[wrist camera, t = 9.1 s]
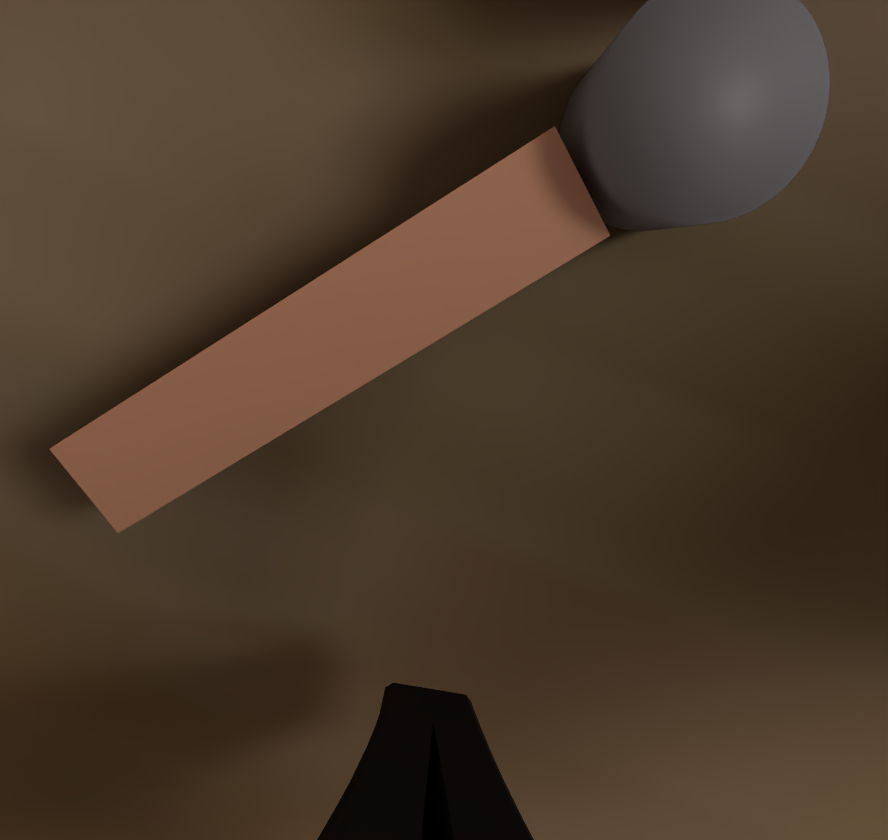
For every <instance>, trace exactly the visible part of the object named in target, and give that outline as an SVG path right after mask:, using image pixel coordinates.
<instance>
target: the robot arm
mask: <svg viewBox="0 0 888 840" xmlns="http://www.w3.org/2000/svg"><path fill="white" fill-rule="evenodd" d="M317 840H534V839H533V837H532V836H531V834H530V832H529V830H528V828H527V826H526V824H525V822H524V820H523V818H522V816H521V814H520V812H519V810H518V808H517V806H516V804H515V802H514V800H513V798H512V796H511V794H510V792H509V790H508V788H507V786H506V784H505V782H504V780H503V778H502V775H501V773H500V771H499V769H498V767H497V764H496V762H495V760H494V758H493V755H492V753H491V751H490V748H489V746H488V744H487V741H486V739H485V737H484V734H483V732H482V729H481V727H480V724H479V722H478V719H477V717H476V714H475V711H474V709H473V706H472V703H471V701H470V700H469V698H468V697H467V695H464V694H458V693H452V692H446V691H440V690H434V689H428V688H422V687H416V686H410V685H404V684H398V683H392V684H391V685H389V686H387V687H385V691H384V696H383V701H382V705H381V710H380V715H379V718H378V720H377V723H376V726H375V728H374V731H373V733H372V736H371V738H370V741H369V743H368V746H367V748H366V750H365V752H364V754H363V756H362V758H361V760H360V762H359V764H358V766H357V768H356V771H355V773H354V775H353V777H352V779H351V781H350V783H349V785H348V787H347V789H346V790H345V792H344V794H343V796H342V798H341V799H340V801H339V803H338V805H337V806H336V808H335V810H334V812H333V813H332V815H331V817H330V819H329V820H328V822H327V824H326V826H325V827H324V829H323V831H322V833H321V834H320V836H319V838H318V839H317Z"/></svg>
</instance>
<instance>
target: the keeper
mask: <svg viewBox="0 0 888 840" xmlns="http://www.w3.org/2000/svg"><path fill="white" fill-rule="evenodd" d="M829 89H830V76H829V64H828V58H827V52H826V48H825V45H824V42H823V39H822V35H821V33H820V31H819V29H818V27H817V25H816V23H815V21H814V19H813V18H812V16H811V15H810V13H809V11H808V10H807V8H806V7H805V6H804V5H803V4H802V3H801V2H800V0H648V1H647V2H646V3H645V4H644V5H643V6H642V7H641V8H640V9H639V10H638V11H637V12H636V13H635V14H634V16H633V17H632V18H631V19H630V21H629V22H628V23H627V24H626V25H625V27H624V28H623V29H622V30H621V32H620V33H619V34H618V35H617V36H616V38H615V39H614V40H613V41H612V43H611V44H610V45H609V46H608V47H607V49H606V50H605V51H604V52H603V54H602V55H601V56H600V57H599V58H598V60H597V61H596V62H595V63H594V65H593V66H592V67H591V68H590V69H589V71H588V72H587V73H586V74H585V76H584V77H583V78H582V79H581V80H580V82H579V83H578V85H577V86H576V88H575V89H574V91H573V93H572V95H571V97H570V99H569V101H568V103H567V105H566V108H565V111H564V114H563V117H562V122H561V127H560V134H559V133H558V131H557V129H556V127H555V126H554V127H553V128H551V129H550V130H548V131H546V132H545V133H543V134H542V135H540V136H539V137H537V138H535V139H534V140H532V141H531V142H529V143H528V144H526V145H524V146H523V147H521V148H520V149H518V150H517V151H515V152H513V153H512V154H510V155H509V156H507V157H506V158H504V159H503V160H501V161H499V162H498V163H496V164H495V165H493V166H492V167H490V168H488V169H487V170H485V171H484V172H482V173H481V174H479V175H477V176H476V177H474V178H473V179H471V180H470V181H468V182H466V183H465V184H463V185H462V186H460V187H459V188H457V189H456V190H454V191H452V192H451V193H449V194H448V195H446V196H445V197H443V198H441V199H440V200H438V201H437V202H435V203H434V204H432V205H430V206H429V207H427V208H426V209H424V210H423V211H421V212H420V213H418V214H416V215H415V216H413V217H412V218H410V219H409V220H407V221H405V222H404V223H402V224H401V225H399V226H398V227H396V228H394V229H393V230H391V231H390V232H388V233H387V234H385V235H383V236H382V237H380V238H379V239H377V240H376V241H374V242H373V243H371V244H369V245H368V246H366V247H365V248H363V249H362V250H360V251H358V252H357V253H355V254H354V255H352V256H351V257H349V258H347V259H346V260H344V261H343V262H341V263H340V264H338V265H336V266H335V267H333V268H332V269H330V270H329V271H327V272H326V273H324V274H322V275H321V276H319V277H318V278H316V279H315V280H313V281H311V282H310V283H308V284H307V285H305V286H304V287H302V288H300V289H299V290H297V291H296V292H294V293H293V294H291V295H290V296H288V297H286V298H285V299H283V300H282V301H280V302H279V303H277V304H275V305H274V306H272V307H271V308H269V309H268V310H266V311H264V312H263V313H261V314H260V315H258V316H257V317H255V318H253V319H252V320H250V321H249V322H247V323H246V324H244V325H243V326H241V327H239V328H238V329H236V330H235V331H233V332H232V333H230V334H228V335H227V336H225V337H224V338H222V339H221V340H219V341H217V342H216V343H214V344H213V345H211V346H210V347H208V348H206V349H205V350H203V351H202V352H200V353H199V354H197V355H196V356H194V357H192V358H191V359H189V360H188V361H186V362H185V363H183V364H181V365H180V366H178V367H177V368H175V369H174V370H172V371H170V372H169V373H167V374H166V375H164V376H163V377H161V378H160V379H158V380H156V381H155V382H153V383H152V384H150V385H149V386H147V387H145V388H144V389H142V390H141V391H139V392H138V393H136V394H134V395H133V396H131V397H130V398H128V399H127V400H125V401H123V402H122V403H120V404H119V405H117V406H116V407H114V408H113V409H111V410H109V411H108V412H106V413H105V414H103V415H102V416H100V417H98V418H97V419H95V420H94V421H92V422H91V423H89V424H87V425H86V426H84V427H83V428H81V429H80V430H78V431H76V432H75V433H73V434H72V435H70V436H69V437H67V438H66V439H64V440H62V441H61V442H59V443H58V444H56V445H55V446H53V447H51V448H50V451H51V452H52V453H53V454H54V455H55V457H56V458H57V459H58V460H59V462H60V463H61V464H62V465H63V466H64V468H65V469H66V470H67V471H68V473H69V474H70V475H71V476H72V478H73V479H74V480H75V481H76V482H77V484H78V485H79V486H80V487H81V489H82V490H83V491H84V492H85V493H86V495H87V496H88V497H89V498H90V500H91V501H92V502H93V503H94V504H95V506H96V507H97V508H98V509H99V511H100V512H101V513H102V514H103V515H104V517H105V518H106V519H107V520H108V522H109V523H110V524H111V525H112V526H113V528H114V529H115V530H116V531H117V533H119V532H121V531H123V530H124V529H126V528H128V527H129V526H131V525H133V524H134V523H136V522H138V521H139V520H141V519H143V518H144V517H146V516H148V515H149V514H151V513H152V512H154V511H156V510H157V509H159V508H161V507H162V506H164V505H166V504H167V503H169V502H171V501H172V500H174V499H176V498H177V497H179V496H181V495H182V494H184V493H186V492H187V491H189V490H191V489H192V488H194V487H195V486H197V485H199V484H200V483H202V482H204V481H205V480H207V479H209V478H210V477H212V476H214V475H215V474H217V473H219V472H220V471H222V470H224V469H225V468H227V467H229V466H230V465H232V464H234V463H235V462H237V461H238V460H240V459H242V458H243V457H245V456H247V455H248V454H250V453H252V452H253V451H255V450H257V449H258V448H260V447H262V446H263V445H265V444H267V443H268V442H270V441H272V440H273V439H275V438H277V437H278V436H280V435H281V434H283V433H285V432H286V431H288V430H290V429H291V428H293V427H295V426H296V425H298V424H300V423H301V422H303V421H305V420H306V419H308V418H310V417H311V416H313V415H315V414H316V413H318V412H320V411H321V410H323V409H325V408H326V407H328V406H329V405H331V404H333V403H334V402H336V401H338V400H339V399H341V398H343V397H344V396H346V395H348V394H349V393H351V392H353V391H354V390H356V389H358V388H359V387H361V386H363V385H364V384H366V383H368V382H369V381H371V380H372V379H374V378H376V377H377V376H379V375H381V374H382V373H384V372H386V371H387V370H389V369H391V368H392V367H394V366H396V365H397V364H399V363H401V362H402V361H404V360H406V359H407V358H409V357H411V356H412V355H414V354H415V353H417V352H419V351H420V350H422V349H424V348H425V347H427V346H429V345H430V344H432V343H434V342H435V341H437V340H439V339H440V338H442V337H444V336H445V335H447V334H449V333H450V332H452V331H454V330H455V329H457V328H459V327H460V326H462V325H463V324H465V323H467V322H468V321H470V320H472V319H473V318H475V317H477V316H478V315H480V314H482V313H483V312H485V311H487V310H488V309H490V308H492V307H493V306H495V305H497V304H498V303H500V302H502V301H503V300H505V299H506V298H508V297H510V296H511V295H513V294H515V293H516V292H518V291H520V290H521V289H523V288H525V287H526V286H528V285H530V284H531V283H533V282H535V281H536V280H538V279H540V278H541V277H543V276H545V275H546V274H548V273H549V272H551V271H553V270H554V269H556V268H558V267H559V266H561V265H563V264H564V263H566V262H568V261H569V260H571V259H573V258H574V257H576V256H578V255H579V254H581V253H583V252H584V251H586V250H588V249H589V248H591V247H592V246H594V245H596V244H597V243H599V242H601V241H602V240H604V239H606V238H607V237H609V236H610V234H609V232H608V230H607V228H606V226H605V224H607V225H609V226H612V227H615V228H618V229H623V230H628V231H649V230H658V229H666V228H675V227H684V226H692V225H701V224H709V223H718V222H722V221H726V220H731V219H734V218H737V217H739V216H742V215H745V214H747V213H749V212H751V211H753V210H755V209H757V208H759V207H760V206H762V205H763V204H765V203H766V202H768V201H769V200H771V199H772V198H773V197H775V196H776V195H777V194H778V193H779V192H780V191H782V190H783V189H784V188H785V187H786V186H787V185H788V184H789V183H790V182H791V180H792V179H793V178H794V177H795V176H796V175H797V173H798V172H799V171H800V169H801V168H802V167H803V165H804V164H805V163H806V161H807V159H808V157H809V156H810V154H811V152H812V150H813V149H814V147H815V144H816V142H817V140H818V137H819V135H820V133H821V130H822V126H823V123H824V120H825V117H826V112H827V106H828V101H829ZM604 223H605V224H604Z"/></svg>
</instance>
